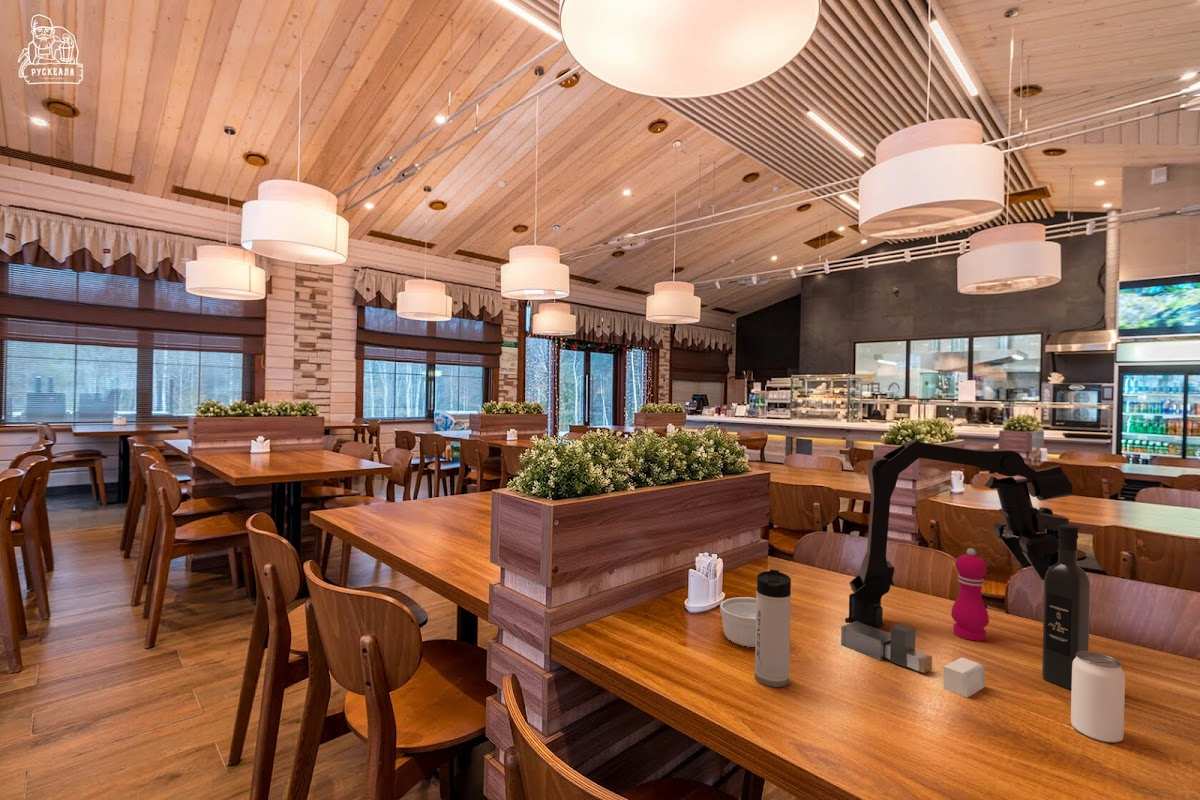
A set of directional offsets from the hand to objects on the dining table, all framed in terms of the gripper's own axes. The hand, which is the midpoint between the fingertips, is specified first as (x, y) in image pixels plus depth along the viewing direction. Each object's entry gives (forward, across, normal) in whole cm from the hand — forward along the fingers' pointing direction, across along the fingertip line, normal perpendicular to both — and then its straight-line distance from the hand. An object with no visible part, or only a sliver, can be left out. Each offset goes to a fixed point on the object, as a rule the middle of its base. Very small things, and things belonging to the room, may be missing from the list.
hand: (1034, 573), depth 127 cm
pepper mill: (+12, 0, +16) cm, 20 cm away
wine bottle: (+15, -19, +6) cm, 25 cm away
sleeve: (+6, -16, +39) cm, 42 cm away
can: (+14, -37, +10) cm, 41 cm away
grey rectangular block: (+10, -28, +25) cm, 38 cm away
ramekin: (0, -17, +63) cm, 65 cm away
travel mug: (+1, -35, +58) cm, 68 cm away
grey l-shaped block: (+7, -19, +35) cm, 41 cm away
